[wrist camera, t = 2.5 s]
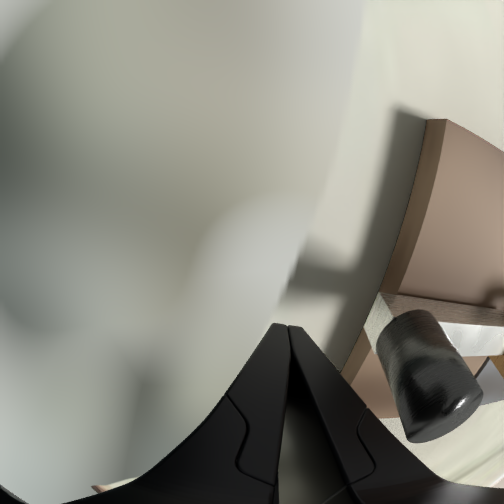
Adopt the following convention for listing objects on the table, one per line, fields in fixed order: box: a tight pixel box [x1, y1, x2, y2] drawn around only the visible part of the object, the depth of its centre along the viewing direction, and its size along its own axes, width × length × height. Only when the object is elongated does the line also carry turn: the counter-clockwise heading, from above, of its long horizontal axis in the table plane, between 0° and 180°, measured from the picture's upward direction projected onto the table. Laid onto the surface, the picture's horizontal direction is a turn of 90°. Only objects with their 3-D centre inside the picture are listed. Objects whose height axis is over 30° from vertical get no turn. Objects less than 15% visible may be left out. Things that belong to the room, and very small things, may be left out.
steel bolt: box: [364, 292, 504, 443], centre depth 7 cm, size 2×8×5 cm, turn 80°
